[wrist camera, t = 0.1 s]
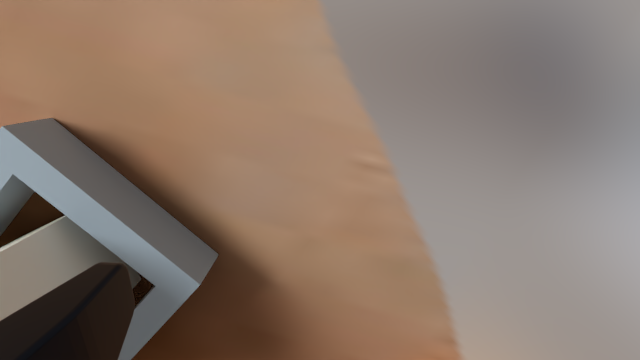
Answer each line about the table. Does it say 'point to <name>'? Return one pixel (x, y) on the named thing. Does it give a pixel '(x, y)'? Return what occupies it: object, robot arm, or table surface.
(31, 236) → the cream egg block
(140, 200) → the blue square ring
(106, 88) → the table surface
